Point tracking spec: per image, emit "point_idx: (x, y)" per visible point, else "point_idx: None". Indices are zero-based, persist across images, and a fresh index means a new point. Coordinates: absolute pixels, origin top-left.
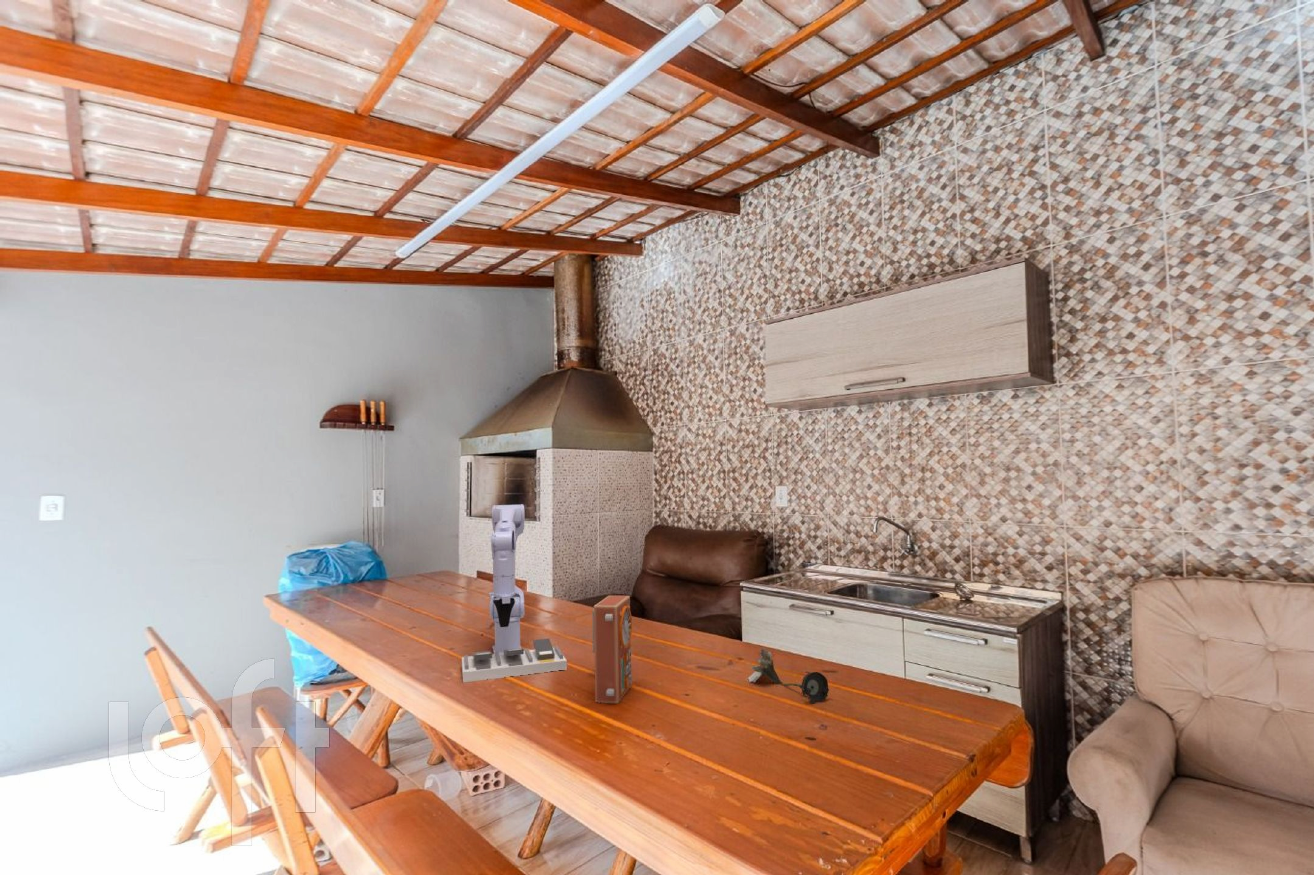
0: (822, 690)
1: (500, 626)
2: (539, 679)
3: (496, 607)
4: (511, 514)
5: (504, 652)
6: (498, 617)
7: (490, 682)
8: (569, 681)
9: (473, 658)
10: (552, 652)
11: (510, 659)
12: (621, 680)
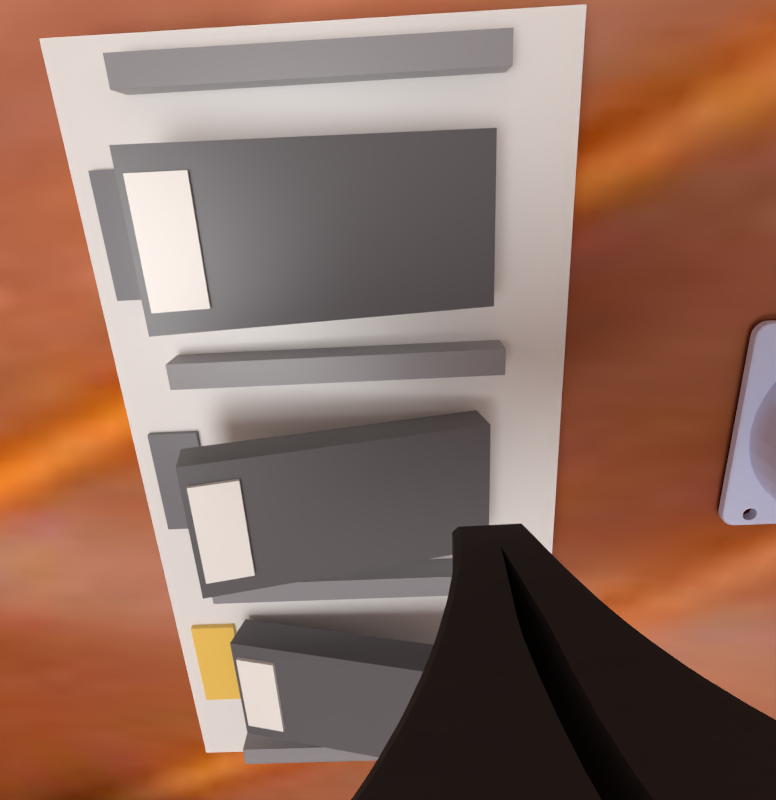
0: None
1: (454, 531)
2: (79, 566)
3: (363, 782)
4: None
5: (393, 429)
6: (494, 598)
7: (60, 279)
8: (21, 690)
9: None
10: (264, 728)
11: None
12: None
